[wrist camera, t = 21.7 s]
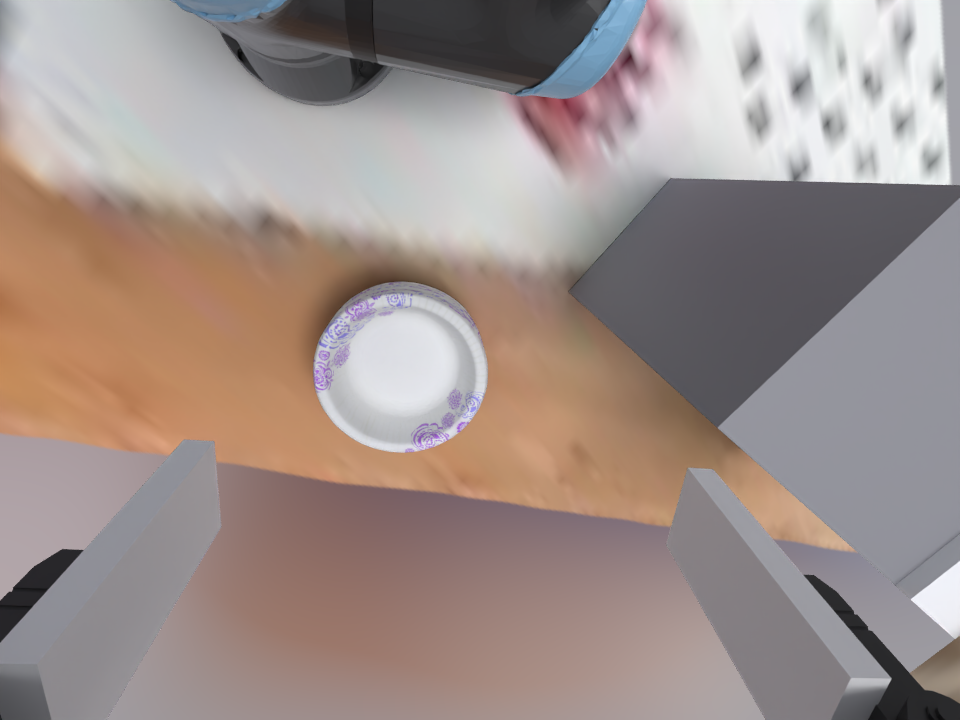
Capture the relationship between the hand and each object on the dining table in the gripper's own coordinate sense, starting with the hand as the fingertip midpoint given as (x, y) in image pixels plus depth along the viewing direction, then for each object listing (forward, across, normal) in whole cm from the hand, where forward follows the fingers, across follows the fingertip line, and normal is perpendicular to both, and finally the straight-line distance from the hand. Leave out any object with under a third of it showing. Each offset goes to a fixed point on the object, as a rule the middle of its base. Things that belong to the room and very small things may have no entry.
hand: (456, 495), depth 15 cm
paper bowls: (+38, -3, -10) cm, 40 cm away
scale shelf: (+38, +28, -5) cm, 48 cm away
